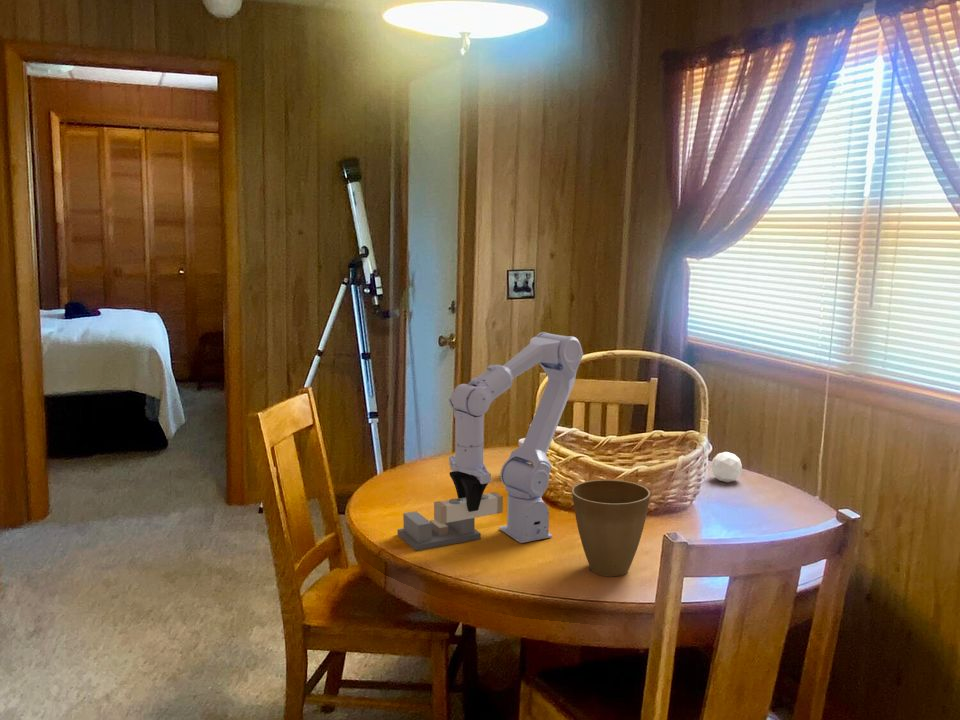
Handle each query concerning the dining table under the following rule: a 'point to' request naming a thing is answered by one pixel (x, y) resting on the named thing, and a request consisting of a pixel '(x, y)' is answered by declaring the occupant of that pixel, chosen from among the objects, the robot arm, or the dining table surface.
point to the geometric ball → (726, 467)
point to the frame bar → (459, 511)
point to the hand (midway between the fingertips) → (469, 507)
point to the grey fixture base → (435, 531)
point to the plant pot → (610, 522)
